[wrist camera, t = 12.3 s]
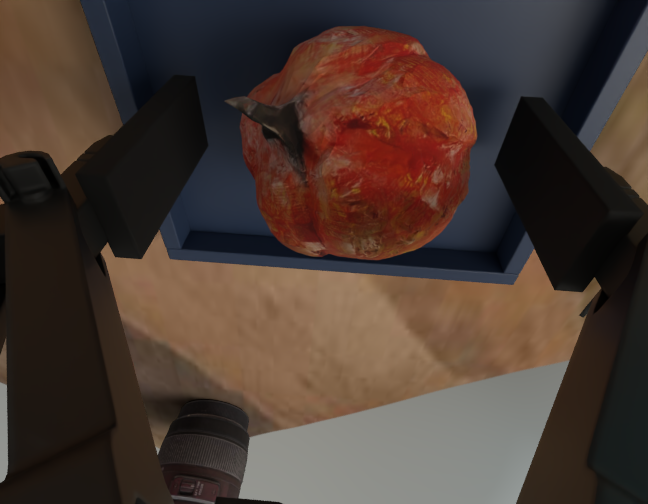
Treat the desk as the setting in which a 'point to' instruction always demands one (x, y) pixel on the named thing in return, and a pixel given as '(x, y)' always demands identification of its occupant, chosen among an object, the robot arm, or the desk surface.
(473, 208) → the tray
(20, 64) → the desk surface
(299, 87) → the pomegranate
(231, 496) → the camera lens
